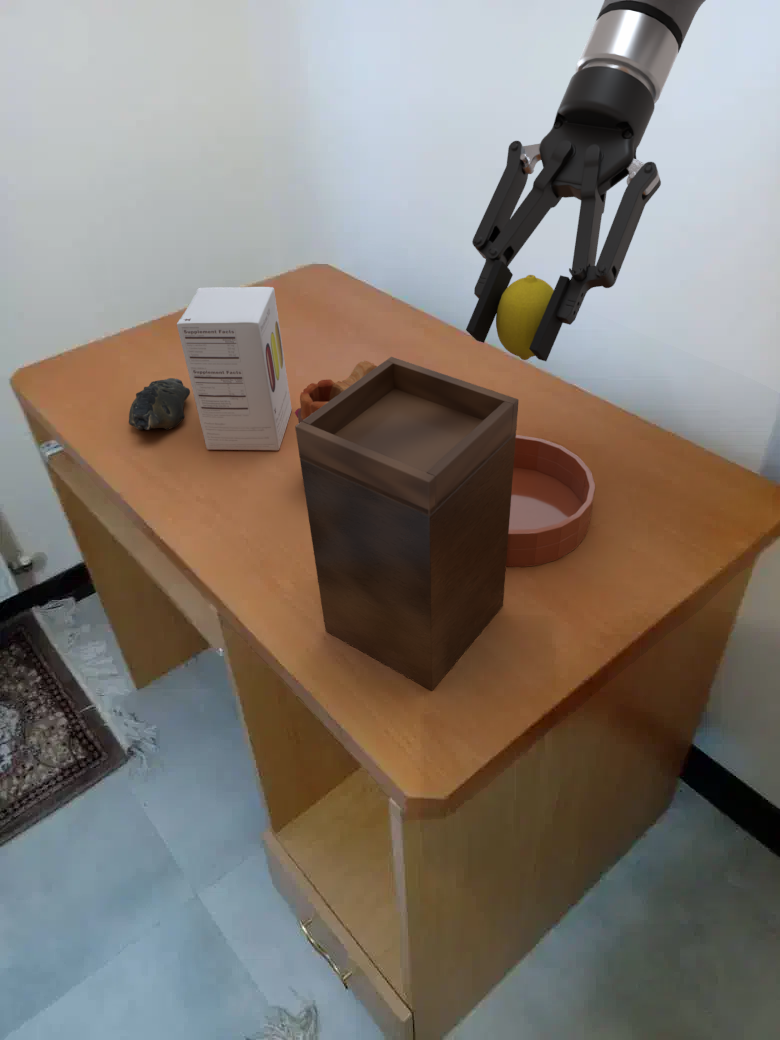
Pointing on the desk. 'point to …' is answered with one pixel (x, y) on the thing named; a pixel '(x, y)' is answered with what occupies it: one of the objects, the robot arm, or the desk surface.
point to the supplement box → (237, 367)
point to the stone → (159, 405)
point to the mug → (328, 390)
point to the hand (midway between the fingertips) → (505, 345)
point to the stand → (411, 566)
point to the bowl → (547, 502)
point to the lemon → (522, 314)
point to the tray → (408, 432)
